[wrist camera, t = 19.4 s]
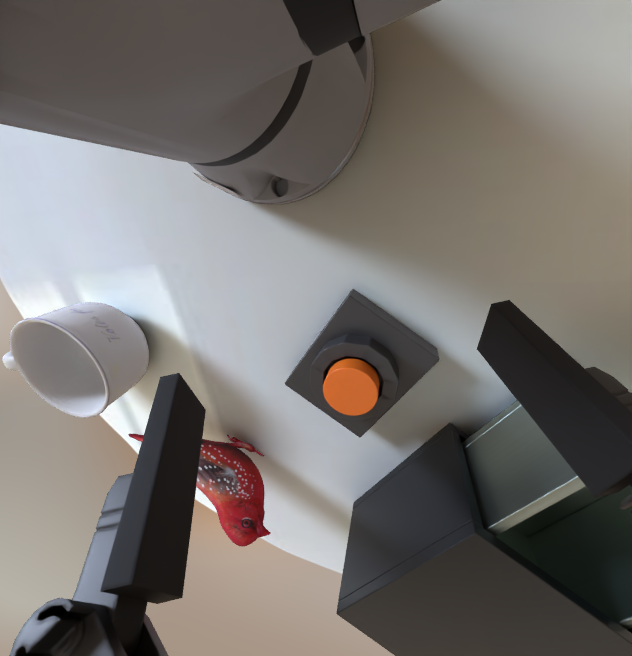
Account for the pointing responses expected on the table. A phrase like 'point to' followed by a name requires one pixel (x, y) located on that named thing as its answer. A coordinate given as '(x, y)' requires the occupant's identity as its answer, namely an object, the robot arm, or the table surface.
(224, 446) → the decorative bird figurine
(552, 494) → the drawer
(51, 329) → the teacup
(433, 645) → the cabinet
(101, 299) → the table surface
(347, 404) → the button
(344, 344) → the block
